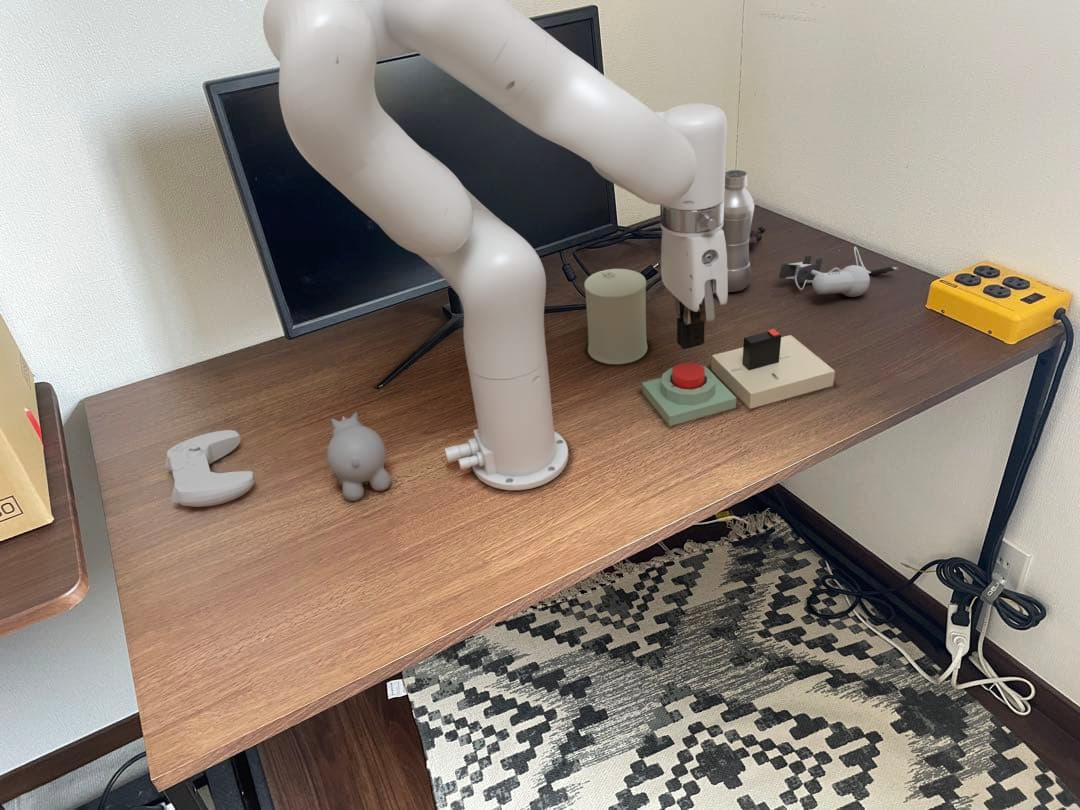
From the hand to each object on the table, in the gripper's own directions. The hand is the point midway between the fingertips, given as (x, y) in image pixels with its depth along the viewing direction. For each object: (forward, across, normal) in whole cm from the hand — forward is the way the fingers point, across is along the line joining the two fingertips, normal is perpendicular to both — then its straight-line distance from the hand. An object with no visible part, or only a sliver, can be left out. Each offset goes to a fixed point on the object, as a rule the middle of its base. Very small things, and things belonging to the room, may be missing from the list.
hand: (690, 343), depth 107 cm
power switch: (+9, 0, 0) cm, 9 cm away
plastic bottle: (+10, +27, -21) cm, 36 cm away
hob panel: (+9, 0, -13) cm, 16 cm away
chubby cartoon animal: (+9, +3, +46) cm, 47 cm away
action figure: (+10, +39, -26) cm, 48 cm away
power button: (+6, 0, 0) cm, 6 cm away
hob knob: (+7, 0, -11) cm, 13 cm away
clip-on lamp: (+10, +19, -37) cm, 43 cm away
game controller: (+9, +10, +65) cm, 66 cm away
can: (+9, +17, +4) cm, 20 cm away
